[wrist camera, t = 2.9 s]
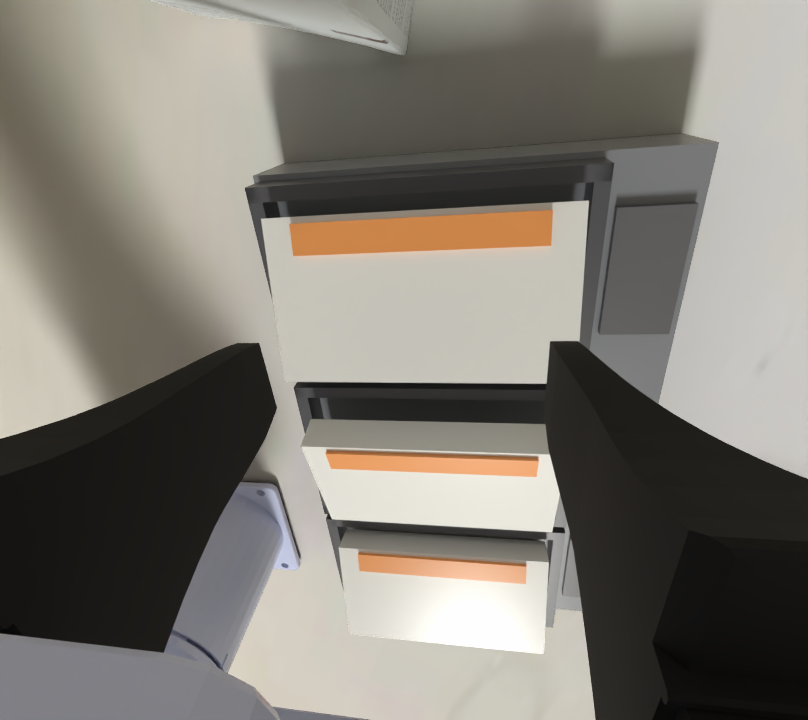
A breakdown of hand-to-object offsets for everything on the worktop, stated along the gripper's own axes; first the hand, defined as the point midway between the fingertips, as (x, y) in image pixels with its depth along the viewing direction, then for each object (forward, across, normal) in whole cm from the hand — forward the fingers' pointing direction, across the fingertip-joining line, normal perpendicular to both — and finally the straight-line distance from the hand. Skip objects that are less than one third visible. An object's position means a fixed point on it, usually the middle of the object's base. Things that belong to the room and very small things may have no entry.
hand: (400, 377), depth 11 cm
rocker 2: (+5, 0, +16) cm, 17 cm away
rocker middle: (+5, 0, +8) cm, 10 cm away
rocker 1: (+5, 0, 0) cm, 5 cm away
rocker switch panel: (+10, -1, +10) cm, 14 cm away
